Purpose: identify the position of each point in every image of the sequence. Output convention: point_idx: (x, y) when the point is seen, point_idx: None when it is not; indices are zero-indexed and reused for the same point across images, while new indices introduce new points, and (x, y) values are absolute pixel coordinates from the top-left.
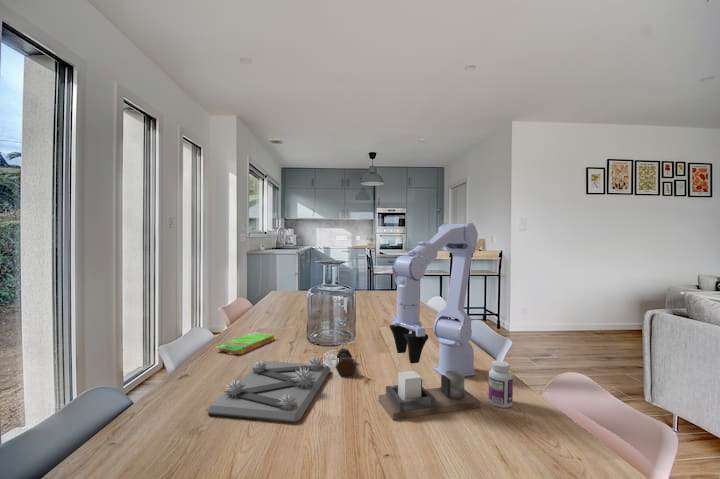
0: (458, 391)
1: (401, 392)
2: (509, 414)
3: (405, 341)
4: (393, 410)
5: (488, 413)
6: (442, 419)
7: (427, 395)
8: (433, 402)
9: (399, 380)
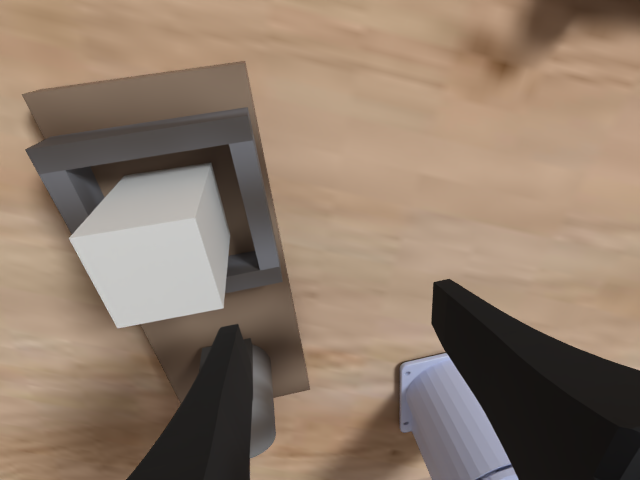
0: None
1: (157, 185)
2: (150, 444)
3: (475, 386)
4: (54, 105)
5: (151, 408)
6: (89, 288)
7: None
8: None
9: (178, 201)
